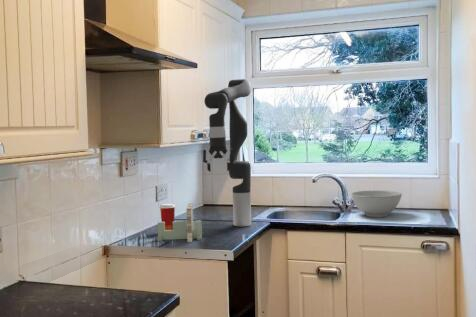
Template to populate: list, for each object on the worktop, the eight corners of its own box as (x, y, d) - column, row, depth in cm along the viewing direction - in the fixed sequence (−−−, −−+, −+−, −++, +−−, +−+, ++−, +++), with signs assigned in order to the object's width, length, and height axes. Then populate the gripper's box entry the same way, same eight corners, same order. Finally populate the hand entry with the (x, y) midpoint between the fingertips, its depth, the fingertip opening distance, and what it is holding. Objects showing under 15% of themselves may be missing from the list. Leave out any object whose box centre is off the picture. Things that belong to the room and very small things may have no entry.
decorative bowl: (410, 214, 287) (410, 192, 286) (387, 221, 268) (386, 198, 267) (367, 209, 306) (366, 189, 305) (342, 216, 286) (342, 194, 286)
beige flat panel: (189, 234, 248) (188, 203, 247) (193, 234, 248) (192, 203, 247) (187, 242, 232) (186, 208, 231) (192, 241, 232) (190, 208, 231)
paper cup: (170, 230, 260) (169, 202, 259) (179, 232, 254) (178, 204, 253) (157, 232, 255) (156, 204, 254) (165, 235, 249) (164, 206, 248)
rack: (159, 237, 243) (158, 220, 243) (202, 236, 244) (201, 219, 244) (157, 241, 235) (156, 223, 235) (201, 239, 236) (200, 222, 236)
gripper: (232, 135, 244) (234, 169, 246) (202, 136, 244) (204, 170, 246) (232, 136, 237) (234, 171, 238) (201, 137, 237) (203, 172, 238)
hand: (218, 171), depth 242 cm, fingers open, 8 cm apart
